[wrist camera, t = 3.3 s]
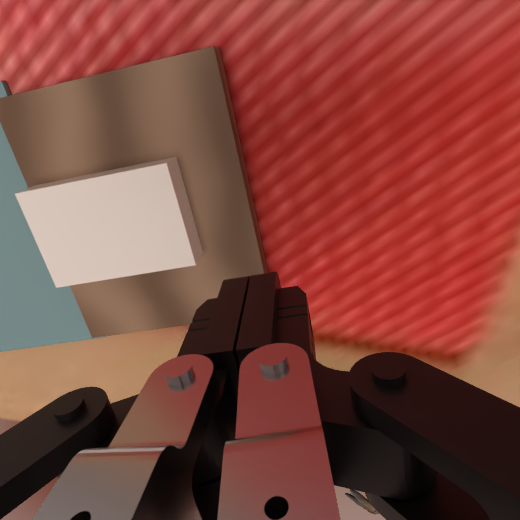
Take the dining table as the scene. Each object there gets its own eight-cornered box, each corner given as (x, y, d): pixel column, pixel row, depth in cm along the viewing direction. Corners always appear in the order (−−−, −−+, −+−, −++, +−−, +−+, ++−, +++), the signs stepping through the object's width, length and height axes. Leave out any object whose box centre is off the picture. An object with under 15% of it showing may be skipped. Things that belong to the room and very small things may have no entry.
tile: (176, 156, 24) (166, 162, 22) (202, 252, 26) (195, 265, 24) (35, 185, 25) (14, 193, 23) (72, 273, 27) (56, 287, 25)
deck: (220, 49, 23) (213, 46, 21) (274, 298, 29) (272, 312, 27) (12, 98, 25) (-10, 100, 23) (104, 322, 31) (92, 338, 29)
